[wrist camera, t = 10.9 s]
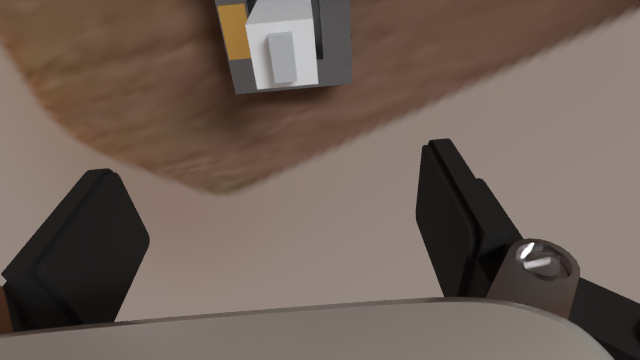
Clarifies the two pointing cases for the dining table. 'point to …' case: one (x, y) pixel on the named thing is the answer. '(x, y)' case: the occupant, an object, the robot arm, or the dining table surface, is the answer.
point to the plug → (282, 43)
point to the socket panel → (328, 31)
